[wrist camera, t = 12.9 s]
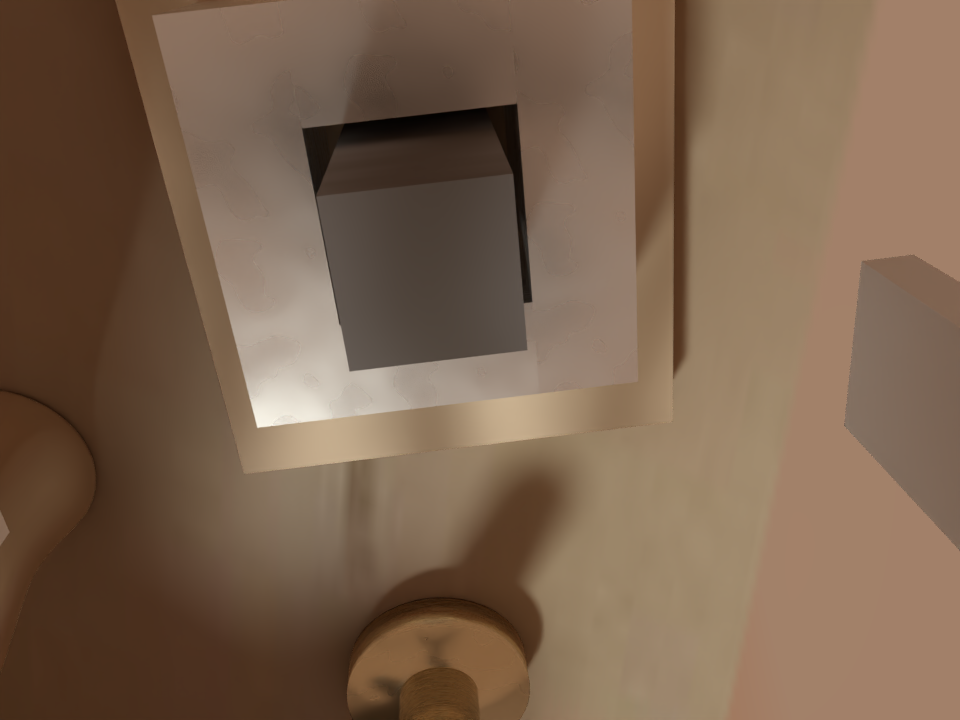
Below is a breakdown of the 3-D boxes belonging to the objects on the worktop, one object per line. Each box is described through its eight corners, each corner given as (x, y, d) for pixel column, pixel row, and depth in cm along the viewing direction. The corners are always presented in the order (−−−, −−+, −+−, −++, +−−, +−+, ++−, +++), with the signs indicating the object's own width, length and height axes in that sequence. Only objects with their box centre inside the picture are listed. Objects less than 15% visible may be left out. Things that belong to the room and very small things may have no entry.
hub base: (252, 448, 29) (182, 664, 20) (88, -175, 20) (-144, -257, 12) (660, 399, 29) (763, 591, 20) (659, -236, 21) (829, -360, 12)
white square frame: (279, 359, 25) (257, 427, 22) (196, 2, 21) (152, 15, 17) (606, 320, 26) (638, 381, 22) (594, -43, 21) (631, -39, 18)
